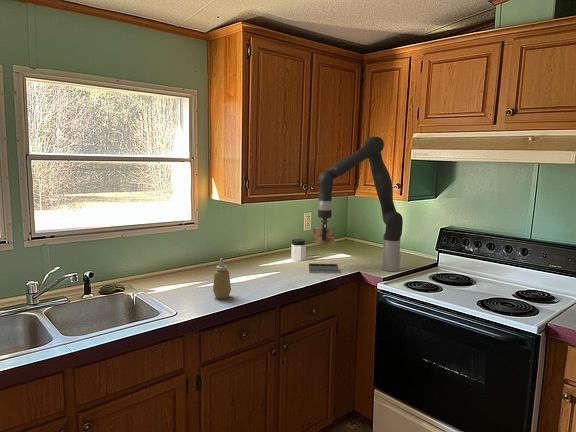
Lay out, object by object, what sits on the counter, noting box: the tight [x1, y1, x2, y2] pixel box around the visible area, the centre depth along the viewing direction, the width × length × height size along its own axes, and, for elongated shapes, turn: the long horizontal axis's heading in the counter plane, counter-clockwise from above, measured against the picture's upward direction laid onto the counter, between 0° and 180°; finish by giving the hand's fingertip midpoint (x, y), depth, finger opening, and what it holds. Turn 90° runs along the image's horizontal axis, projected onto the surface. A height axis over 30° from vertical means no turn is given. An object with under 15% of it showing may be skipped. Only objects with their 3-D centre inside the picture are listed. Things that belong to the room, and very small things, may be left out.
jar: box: [290, 238, 307, 262], centre depth 260 cm, size 9×8×12 cm
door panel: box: [312, 227, 336, 246], centre depth 234 cm, size 12×3×9 cm, turn 87°
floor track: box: [308, 262, 340, 274], centre depth 236 cm, size 16×9×3 cm, turn 88°
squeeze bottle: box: [212, 257, 232, 300], centre depth 191 cm, size 8×8×18 cm
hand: (324, 239), depth 234 cm, fingers closed on door panel, 3 cm apart
